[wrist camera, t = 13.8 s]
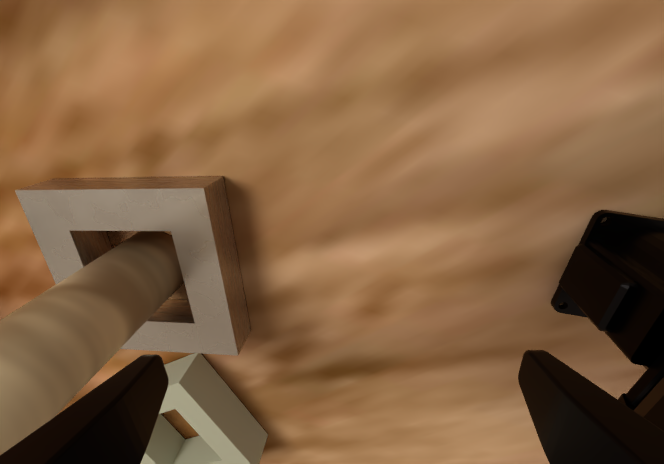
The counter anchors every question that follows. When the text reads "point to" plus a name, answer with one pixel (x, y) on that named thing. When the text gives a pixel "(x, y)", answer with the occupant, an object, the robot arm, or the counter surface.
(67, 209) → the socket block
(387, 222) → the counter surface
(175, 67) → the counter surface
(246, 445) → the collar
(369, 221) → the counter surface
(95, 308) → the tan rounded peg
